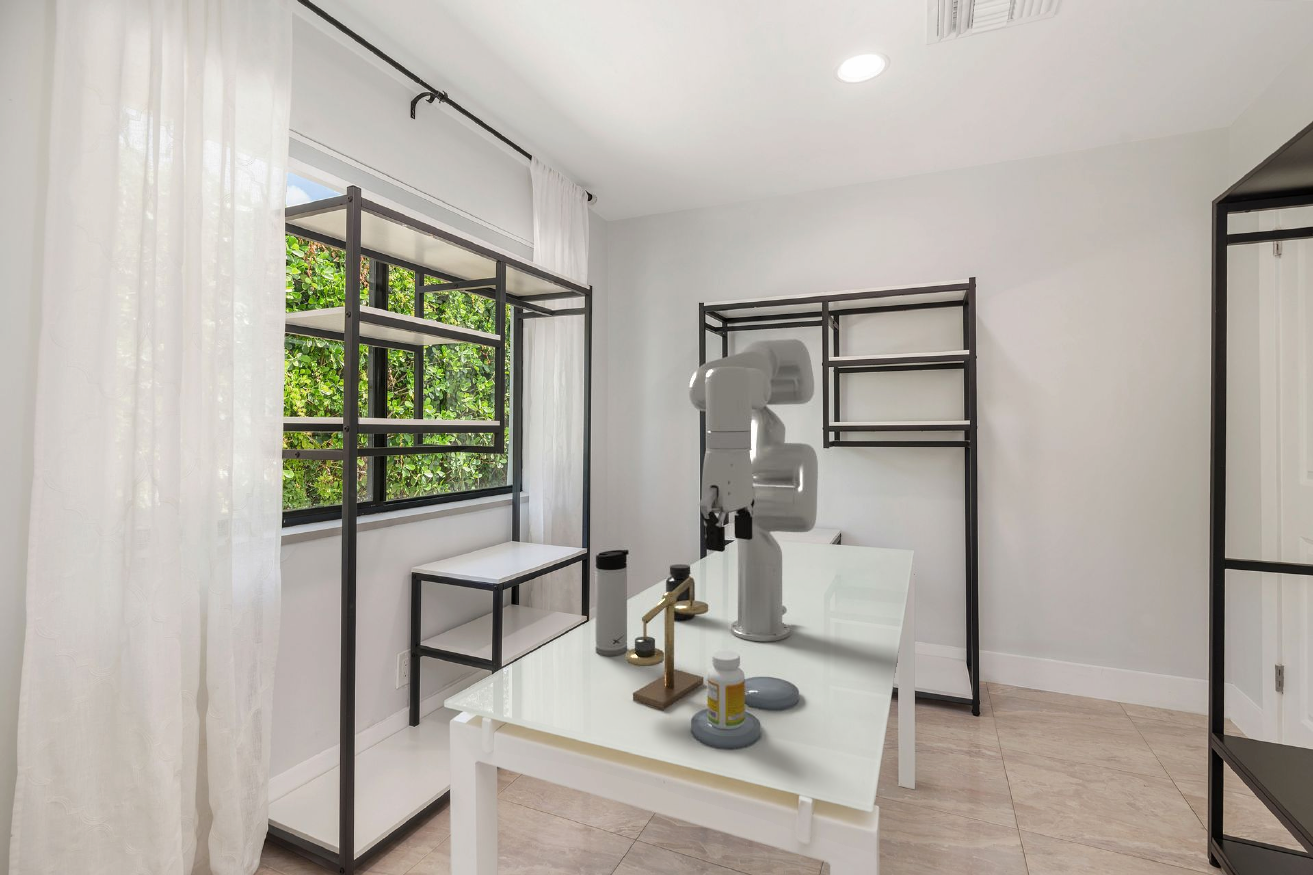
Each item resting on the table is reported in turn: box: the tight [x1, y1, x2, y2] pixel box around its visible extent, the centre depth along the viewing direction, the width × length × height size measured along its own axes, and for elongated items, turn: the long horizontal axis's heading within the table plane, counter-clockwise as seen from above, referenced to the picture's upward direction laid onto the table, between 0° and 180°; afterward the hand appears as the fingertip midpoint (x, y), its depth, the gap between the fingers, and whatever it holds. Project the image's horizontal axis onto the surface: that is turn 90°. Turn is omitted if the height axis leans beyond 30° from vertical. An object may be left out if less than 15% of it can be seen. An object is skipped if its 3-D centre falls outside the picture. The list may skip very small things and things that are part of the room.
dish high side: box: [745, 676, 800, 711], centre depth 97 cm, size 10×10×1 cm
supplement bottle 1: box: [665, 563, 696, 622], centre depth 140 cm, size 7×7×12 cm
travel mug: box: [594, 549, 630, 657], centre depth 118 cm, size 6×7×20 cm
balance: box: [625, 576, 709, 711], centre depth 99 cm, size 20×6×18 cm, turn 144°
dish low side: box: [690, 708, 762, 750], centre depth 86 cm, size 10×10×1 cm
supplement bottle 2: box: [706, 649, 746, 730], centre depth 86 cm, size 5×5×10 cm
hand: (730, 544), depth 99 cm, fingers open, 9 cm apart
